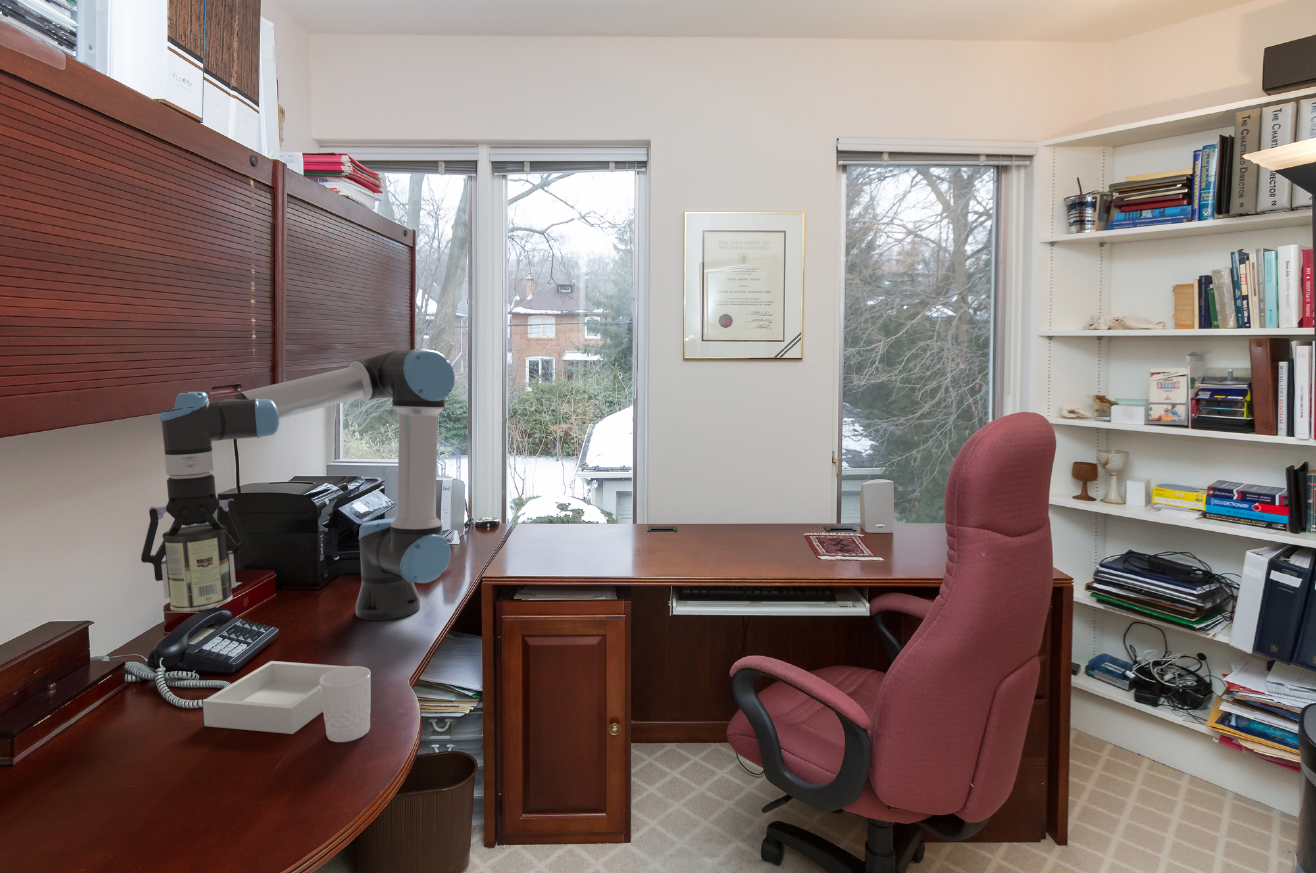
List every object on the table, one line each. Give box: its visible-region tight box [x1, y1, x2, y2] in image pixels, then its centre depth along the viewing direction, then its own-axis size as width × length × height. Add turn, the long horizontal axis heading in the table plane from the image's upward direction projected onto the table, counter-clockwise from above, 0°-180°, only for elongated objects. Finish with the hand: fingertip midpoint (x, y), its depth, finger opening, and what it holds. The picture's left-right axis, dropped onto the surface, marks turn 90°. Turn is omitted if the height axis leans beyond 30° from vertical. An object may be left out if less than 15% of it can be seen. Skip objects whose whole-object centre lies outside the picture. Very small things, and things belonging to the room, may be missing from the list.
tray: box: [202, 660, 348, 735], centre depth 134 cm, size 17×17×4 cm
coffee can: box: [161, 523, 233, 613], centre depth 140 cm, size 10×10×14 cm
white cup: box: [319, 665, 372, 743], centre depth 125 cm, size 8×8×10 cm
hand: (200, 591), depth 141 cm, fingers closed on coffee can, 10 cm apart
